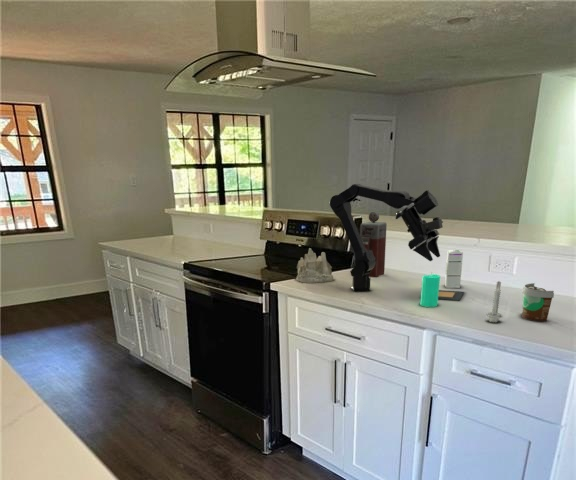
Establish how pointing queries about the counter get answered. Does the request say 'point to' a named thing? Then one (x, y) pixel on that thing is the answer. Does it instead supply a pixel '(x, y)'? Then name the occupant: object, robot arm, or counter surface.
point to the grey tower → (453, 268)
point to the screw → (495, 305)
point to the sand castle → (314, 268)
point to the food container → (536, 302)
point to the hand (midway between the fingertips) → (435, 258)
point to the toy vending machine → (375, 242)
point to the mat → (450, 295)
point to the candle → (430, 290)
